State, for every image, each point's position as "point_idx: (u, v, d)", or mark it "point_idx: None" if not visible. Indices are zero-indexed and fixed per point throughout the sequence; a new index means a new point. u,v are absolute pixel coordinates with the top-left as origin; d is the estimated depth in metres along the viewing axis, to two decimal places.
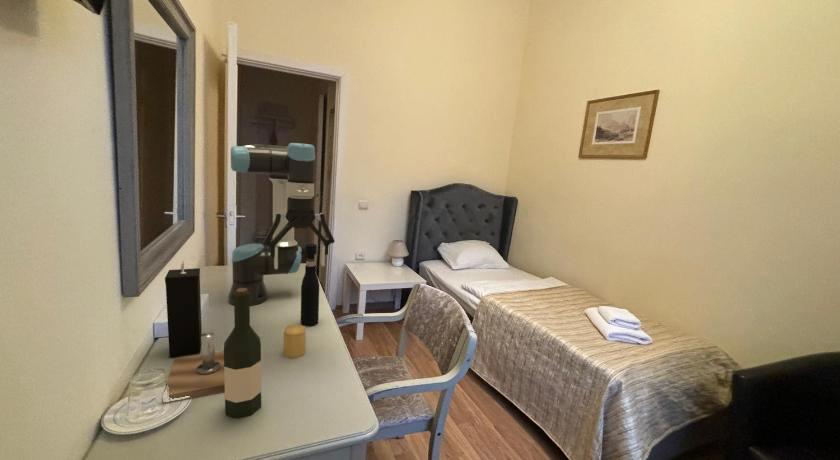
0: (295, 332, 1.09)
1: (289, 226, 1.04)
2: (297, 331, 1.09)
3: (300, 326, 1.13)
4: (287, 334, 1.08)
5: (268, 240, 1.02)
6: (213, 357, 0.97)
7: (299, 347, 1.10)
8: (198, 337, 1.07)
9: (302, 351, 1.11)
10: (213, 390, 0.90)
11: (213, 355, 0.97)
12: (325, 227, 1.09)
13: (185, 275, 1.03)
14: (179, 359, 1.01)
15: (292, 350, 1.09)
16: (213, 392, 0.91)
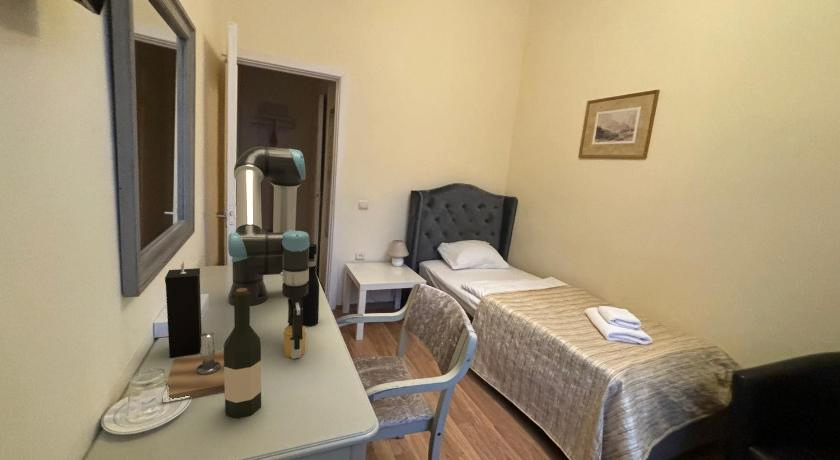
0: None
1: (288, 308, 1.11)
2: None
3: None
4: (287, 334, 1.08)
5: (288, 318, 1.16)
6: (213, 357, 0.97)
7: None
8: (198, 337, 1.07)
9: (302, 351, 1.11)
10: (213, 390, 0.90)
11: (213, 355, 0.97)
12: (293, 322, 1.05)
13: (185, 275, 1.03)
14: (179, 359, 1.01)
15: None
16: (213, 392, 0.91)
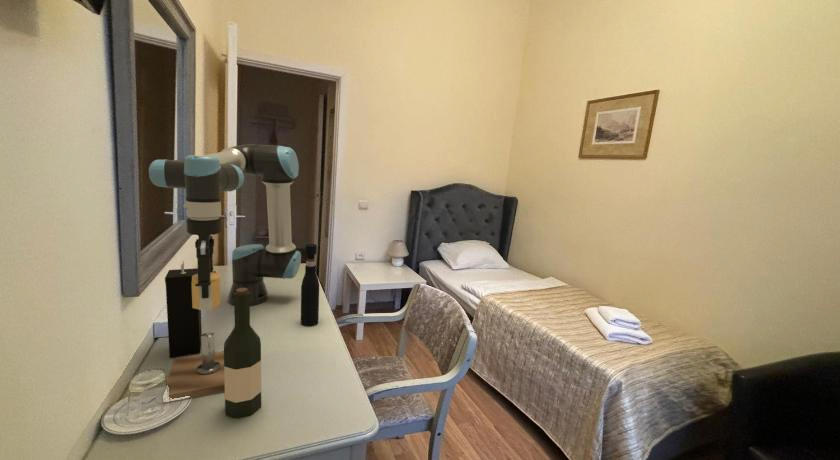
0: None
1: None
2: None
3: (214, 273, 0.95)
4: (194, 280, 0.90)
5: None
6: (213, 357, 0.97)
7: None
8: (198, 337, 1.07)
9: (215, 302, 0.93)
10: (213, 390, 0.90)
11: (213, 355, 0.97)
12: None
13: (185, 275, 1.03)
14: (179, 359, 1.01)
15: None
16: (213, 392, 0.91)
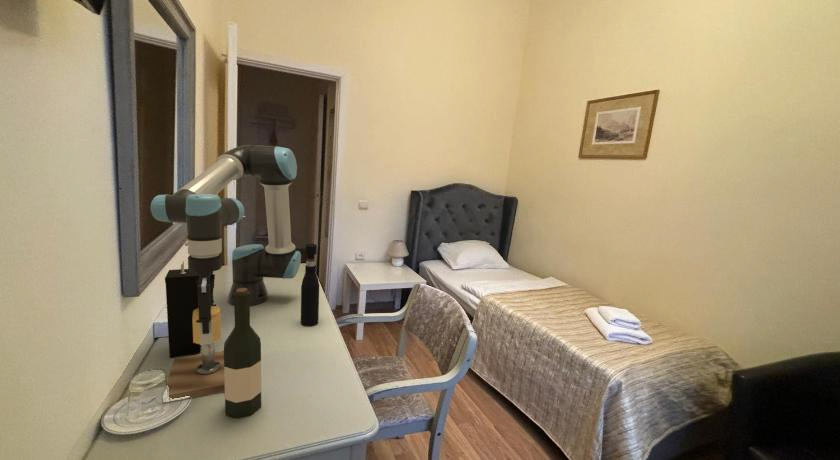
0: None
1: None
2: None
3: (215, 308, 0.96)
4: (195, 316, 0.92)
5: None
6: (213, 357, 0.97)
7: None
8: None
9: (215, 337, 0.94)
10: (213, 390, 0.90)
11: (213, 355, 0.97)
12: None
13: (185, 275, 1.03)
14: (179, 359, 1.01)
15: None
16: (213, 392, 0.91)
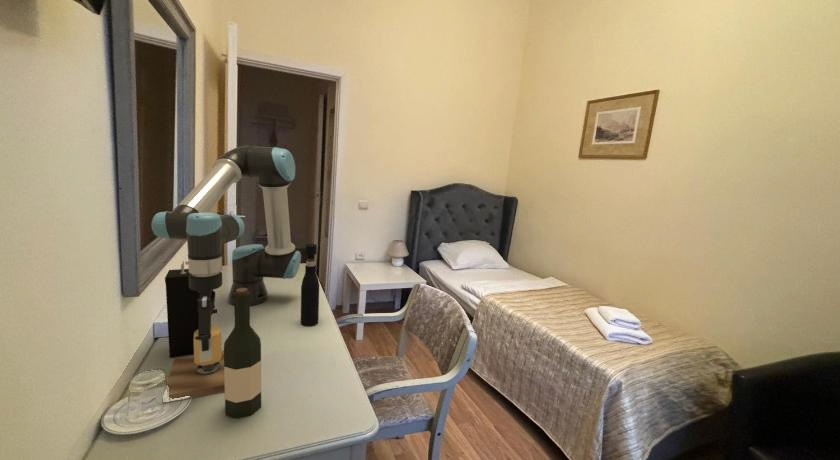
0: None
1: None
2: None
3: (215, 328, 0.97)
4: None
5: None
6: None
7: None
8: None
9: (216, 357, 0.96)
10: (213, 390, 0.90)
11: None
12: None
13: (185, 275, 1.03)
14: (179, 359, 1.01)
15: None
16: (213, 392, 0.91)
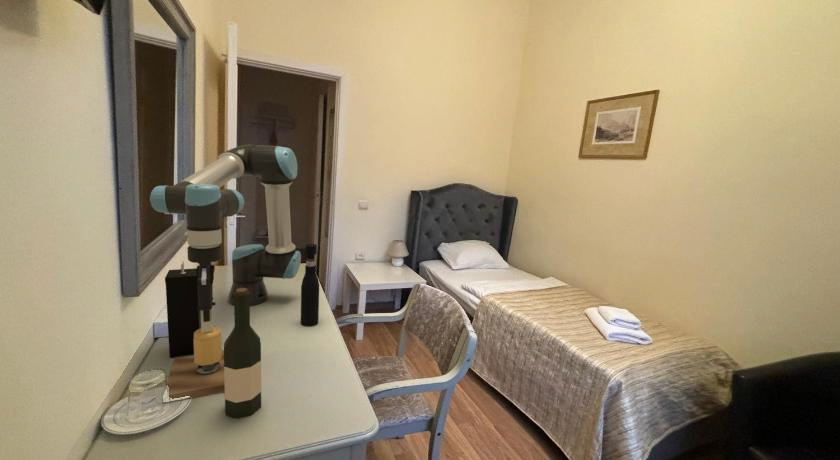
0: (206, 335, 0.93)
1: None
2: (209, 335, 0.94)
3: (215, 328, 0.97)
4: (196, 338, 0.93)
5: None
6: None
7: (211, 353, 0.94)
8: None
9: (216, 357, 0.96)
10: (213, 390, 0.90)
11: None
12: (199, 291, 0.89)
13: (185, 275, 1.03)
14: (179, 359, 1.01)
15: (202, 356, 0.93)
16: (213, 392, 0.91)
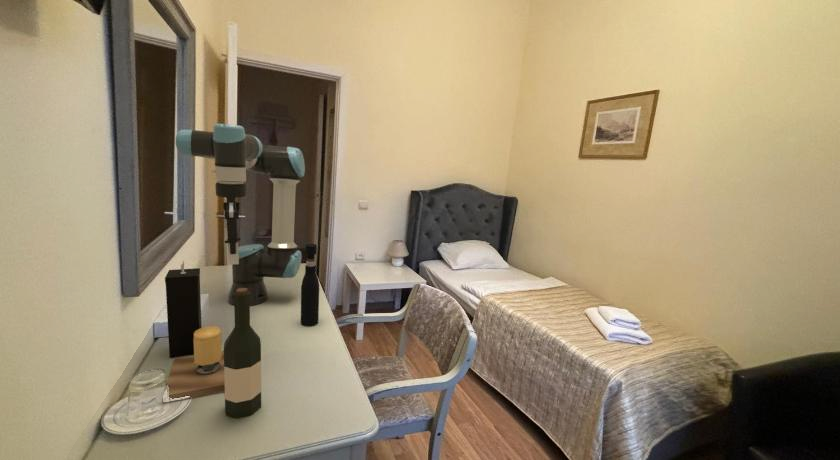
0: (206, 335, 0.93)
1: None
2: (209, 335, 0.94)
3: (215, 328, 0.97)
4: (196, 338, 0.93)
5: None
6: None
7: (211, 353, 0.94)
8: None
9: (216, 357, 0.96)
10: (213, 390, 0.90)
11: None
12: None
13: (185, 275, 1.03)
14: (179, 359, 1.01)
15: (202, 356, 0.93)
16: (213, 392, 0.91)
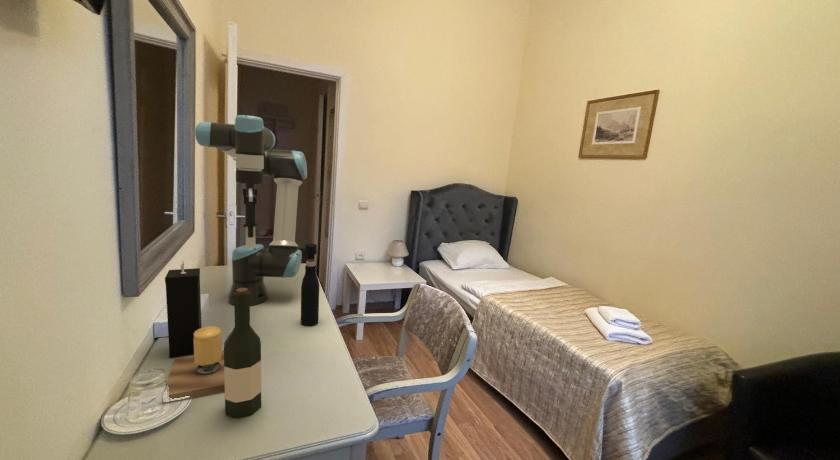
0: (206, 335, 0.93)
1: None
2: (209, 335, 0.94)
3: (215, 328, 0.97)
4: (196, 338, 0.93)
5: None
6: None
7: (211, 353, 0.94)
8: None
9: (216, 357, 0.96)
10: (213, 390, 0.90)
11: None
12: (246, 207, 1.04)
13: (185, 275, 1.03)
14: (179, 359, 1.01)
15: (202, 356, 0.93)
16: (213, 392, 0.91)
